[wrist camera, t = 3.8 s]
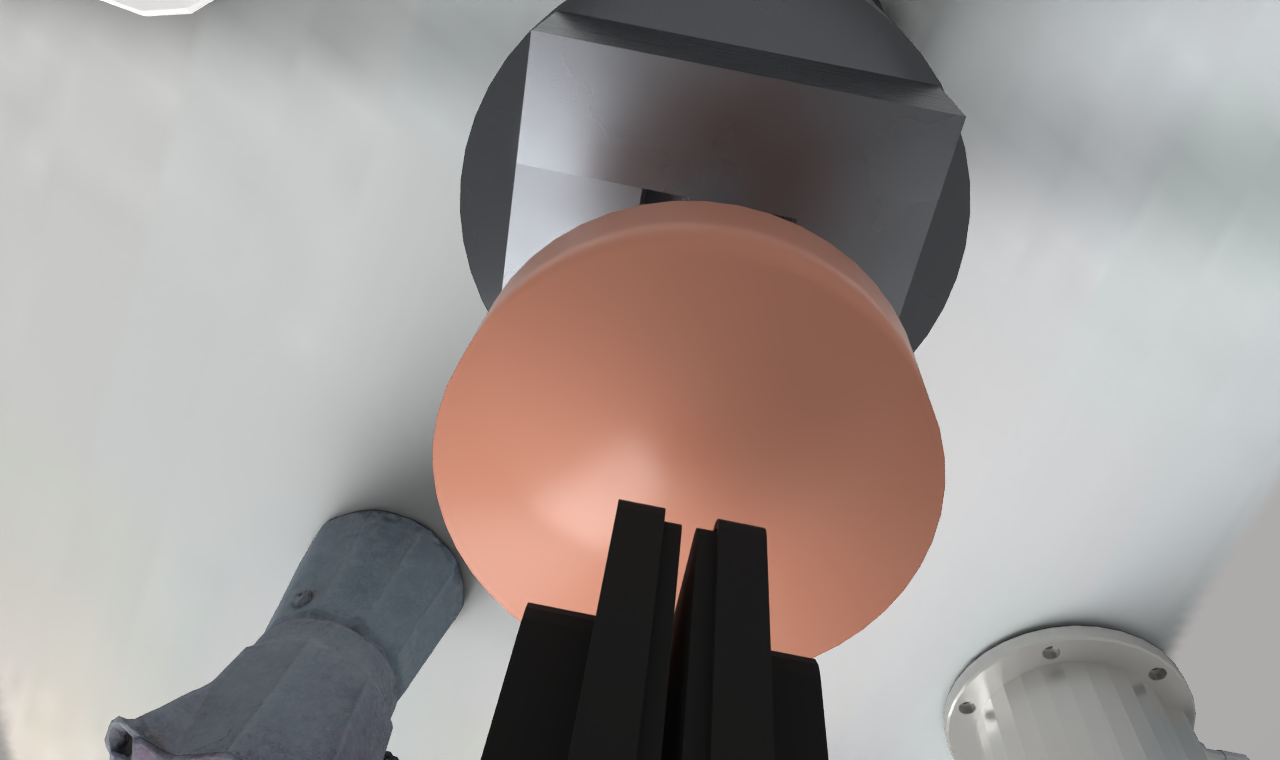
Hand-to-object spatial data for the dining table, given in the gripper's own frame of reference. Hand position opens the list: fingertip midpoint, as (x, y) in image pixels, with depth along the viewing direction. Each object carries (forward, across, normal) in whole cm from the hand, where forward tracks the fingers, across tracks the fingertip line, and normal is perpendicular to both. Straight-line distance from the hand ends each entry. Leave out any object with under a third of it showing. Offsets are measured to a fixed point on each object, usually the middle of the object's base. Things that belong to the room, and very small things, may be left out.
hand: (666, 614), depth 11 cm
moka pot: (+32, +12, +29) cm, 45 cm away
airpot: (+32, 0, 0) cm, 32 cm away
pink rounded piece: (+8, 0, 0) cm, 8 cm away
